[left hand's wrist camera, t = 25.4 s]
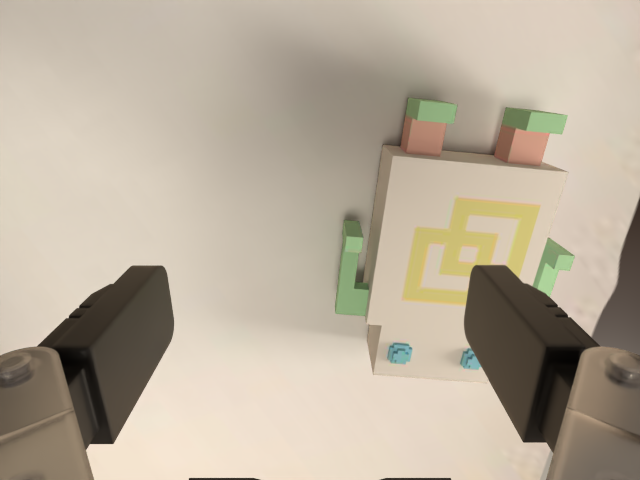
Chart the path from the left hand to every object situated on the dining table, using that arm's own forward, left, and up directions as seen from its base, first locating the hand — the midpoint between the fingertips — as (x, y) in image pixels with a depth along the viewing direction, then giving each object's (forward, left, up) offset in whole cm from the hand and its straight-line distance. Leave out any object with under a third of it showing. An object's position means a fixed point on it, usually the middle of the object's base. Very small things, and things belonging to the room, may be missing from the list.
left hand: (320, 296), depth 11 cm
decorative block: (+13, +8, -29) cm, 33 cm away
